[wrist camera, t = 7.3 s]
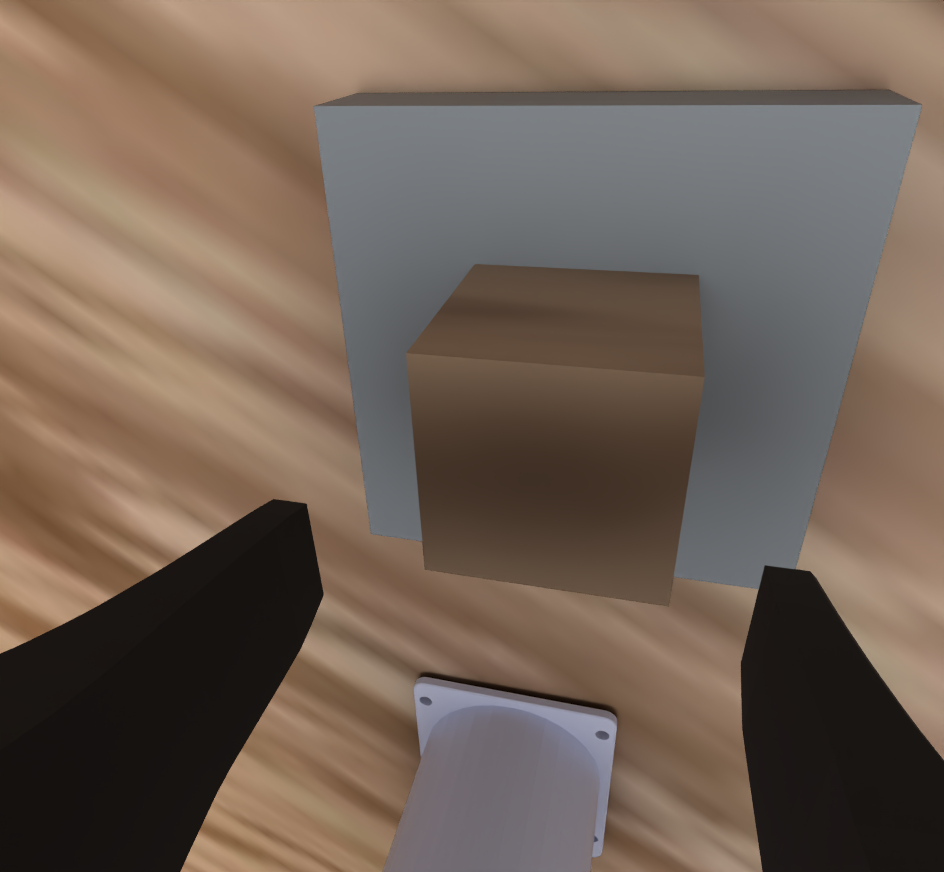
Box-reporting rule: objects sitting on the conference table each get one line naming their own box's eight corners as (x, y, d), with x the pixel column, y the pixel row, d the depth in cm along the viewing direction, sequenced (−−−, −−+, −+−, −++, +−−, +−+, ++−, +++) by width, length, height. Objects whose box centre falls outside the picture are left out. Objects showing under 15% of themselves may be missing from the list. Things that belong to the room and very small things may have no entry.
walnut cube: (672, 466, 18) (668, 606, 14) (480, 445, 19) (425, 569, 15) (698, 274, 15) (704, 377, 11) (475, 263, 17) (406, 353, 12)
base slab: (778, 535, 21) (788, 593, 19) (397, 487, 24) (371, 534, 22) (889, 89, 15) (922, 104, 13) (356, 93, 18) (313, 106, 16)
